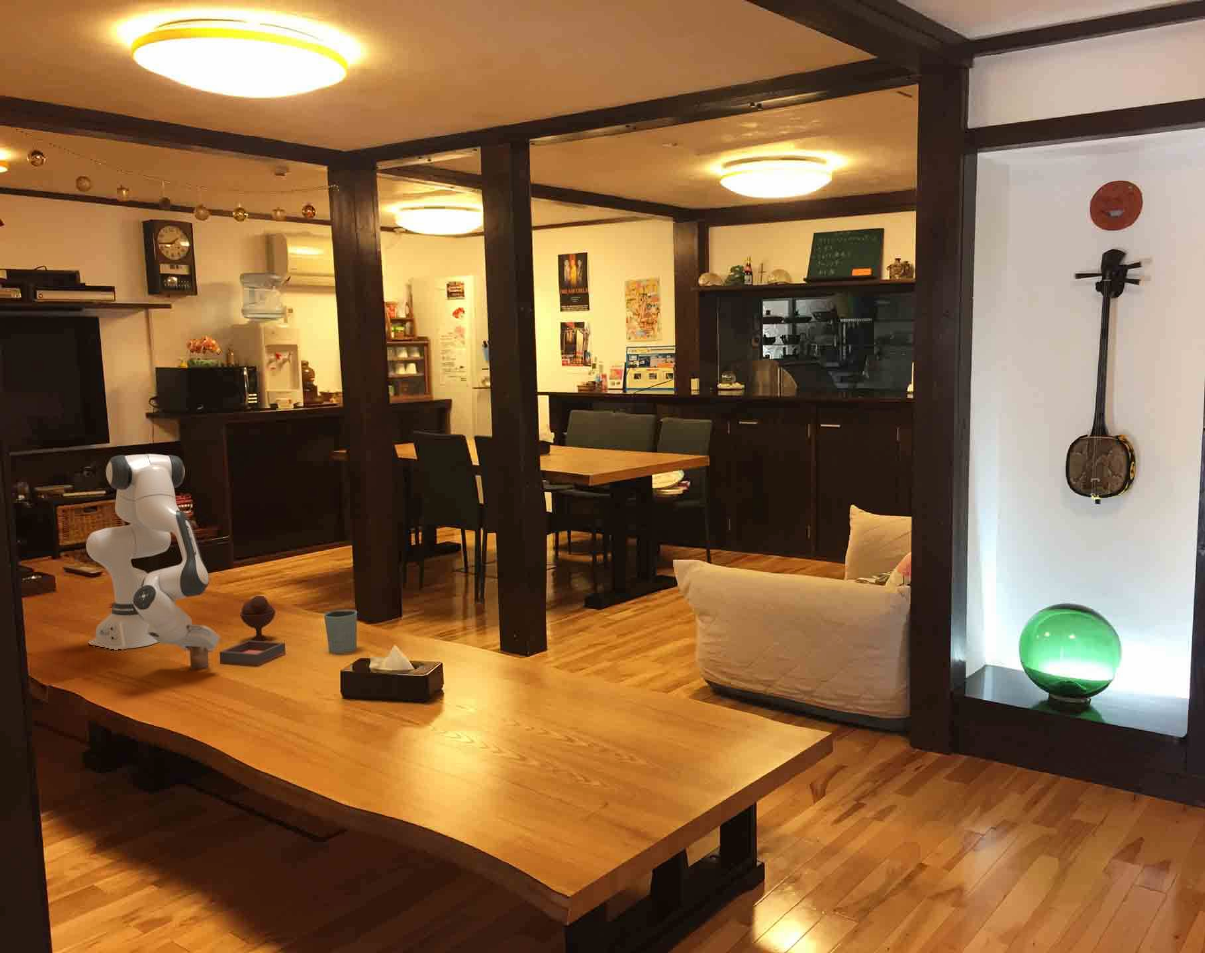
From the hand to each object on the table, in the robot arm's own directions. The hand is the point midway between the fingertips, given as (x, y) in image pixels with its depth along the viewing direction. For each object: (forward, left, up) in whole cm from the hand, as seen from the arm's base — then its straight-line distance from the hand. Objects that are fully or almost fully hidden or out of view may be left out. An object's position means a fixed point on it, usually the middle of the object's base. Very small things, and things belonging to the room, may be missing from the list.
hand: (200, 649), depth 309 cm
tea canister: (0, -1, -5) cm, 5 cm away
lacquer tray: (+10, +11, -5) cm, 16 cm away
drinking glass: (+32, +26, -6) cm, 42 cm away
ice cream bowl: (-2, +30, -6) cm, 31 cm away
